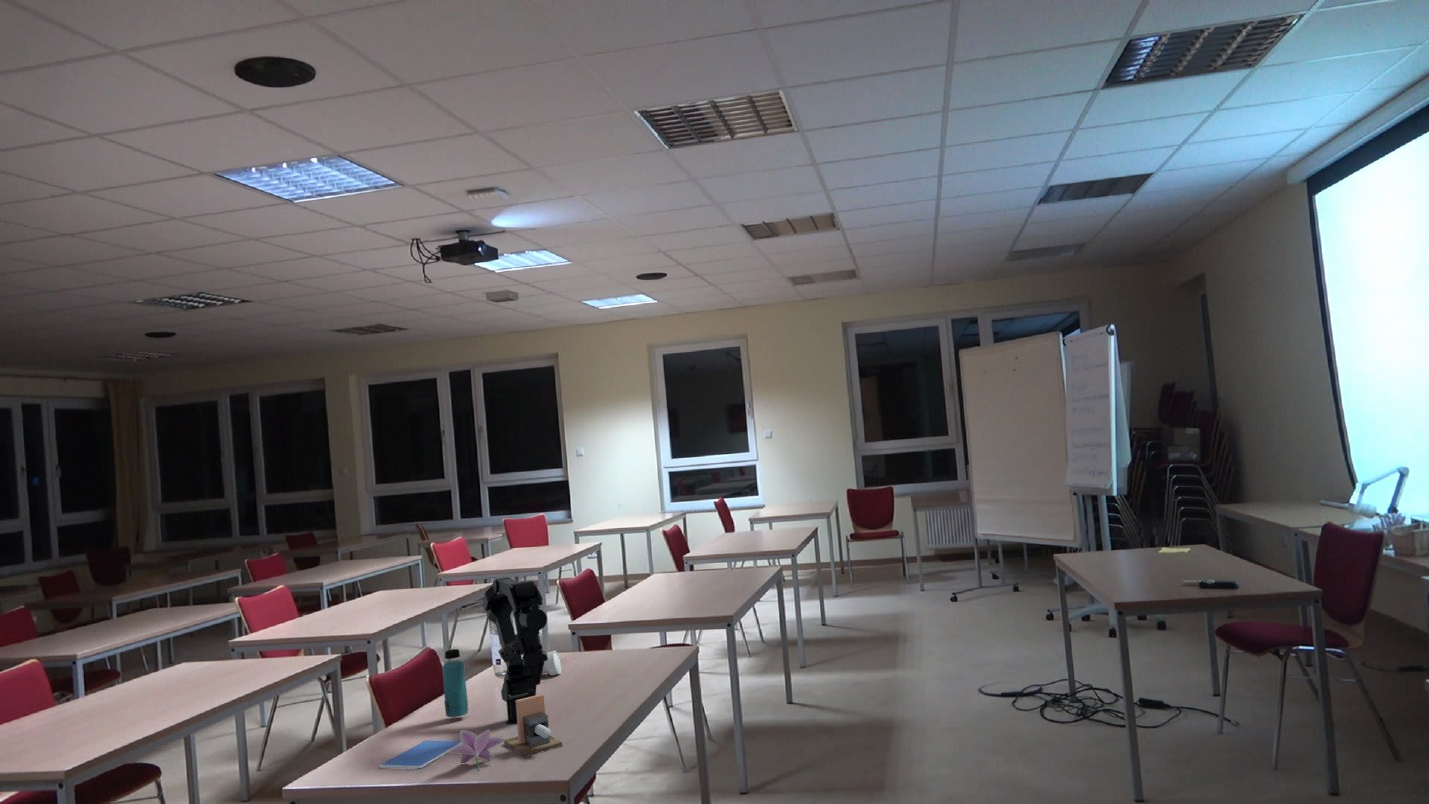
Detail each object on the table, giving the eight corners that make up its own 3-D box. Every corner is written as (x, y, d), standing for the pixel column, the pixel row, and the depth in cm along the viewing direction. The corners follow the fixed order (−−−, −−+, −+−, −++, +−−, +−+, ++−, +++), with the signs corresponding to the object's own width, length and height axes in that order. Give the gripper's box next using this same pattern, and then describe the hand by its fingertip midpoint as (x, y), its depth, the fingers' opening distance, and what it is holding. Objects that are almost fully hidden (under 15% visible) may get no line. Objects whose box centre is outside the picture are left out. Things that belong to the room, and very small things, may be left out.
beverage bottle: (473, 716, 256) (468, 647, 257) (458, 723, 250) (453, 652, 251) (456, 715, 259) (451, 647, 260) (440, 722, 253) (435, 652, 254)
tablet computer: (425, 744, 235) (424, 739, 235) (465, 744, 231) (465, 739, 231) (377, 770, 216) (377, 765, 216) (421, 771, 213) (421, 766, 213)
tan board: (504, 744, 227) (504, 740, 227) (540, 734, 232) (540, 730, 232) (524, 756, 215) (524, 752, 215) (562, 746, 221) (562, 742, 221)
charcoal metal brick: (525, 744, 221) (522, 716, 222) (543, 739, 224) (541, 711, 225) (531, 748, 218) (528, 719, 219) (549, 743, 221) (547, 714, 221)
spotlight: (558, 674, 293) (553, 650, 296) (526, 683, 294) (521, 659, 296) (564, 672, 301) (559, 649, 303) (533, 682, 301) (527, 658, 303)
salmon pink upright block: (518, 742, 222) (515, 700, 223) (544, 735, 226) (541, 694, 227) (534, 751, 214) (530, 707, 215) (560, 743, 218) (557, 701, 218)
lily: (514, 765, 213) (506, 725, 218) (491, 761, 203) (483, 720, 208) (470, 783, 214) (463, 743, 219) (445, 780, 204) (438, 739, 208)
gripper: (494, 631, 246) (505, 686, 245) (500, 640, 228) (511, 700, 227) (533, 621, 249) (544, 675, 249) (542, 629, 232) (553, 687, 231)
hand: (537, 684), depth 239 cm, fingers closed
